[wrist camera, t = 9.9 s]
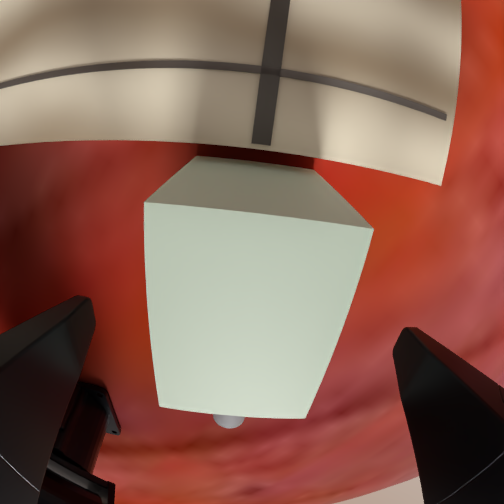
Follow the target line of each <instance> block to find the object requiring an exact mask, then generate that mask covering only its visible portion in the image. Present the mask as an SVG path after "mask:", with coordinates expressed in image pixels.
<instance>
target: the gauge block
mask: <svg viewBox="0 0 504 504" xmlns="http://www.w3.org/2000/svg"><path fill="white" fill-rule="evenodd" d="M373 230H374V229H373V228H372V227H371V226H370V224H369V223H368V222H367V221H366V220H365V219H364V218H363V217H362V216H361V215H360V214H359V213H358V212H357V211H356V210H355V209H354V208H353V207H352V206H351V205H350V204H349V203H348V202H347V201H346V200H345V199H344V198H343V197H342V196H341V195H340V194H339V193H338V192H337V191H336V190H335V189H334V188H333V187H332V186H331V185H330V184H328V183H327V182H326V181H325V180H324V179H323V178H322V177H321V176H320V175H319V174H318V173H317V172H316V171H315V170H312V169H306V168H299V167H293V166H286V165H279V164H271V163H263V162H255V161H247V160H238V159H229V158H218V157H207V156H196V157H195V158H193V159H192V160H191V161H190V162H189V163H187V164H186V165H185V166H184V167H183V168H182V169H180V170H179V171H178V172H177V173H176V174H175V175H173V176H172V177H171V178H170V179H169V180H168V181H167V182H166V183H164V184H163V185H162V186H161V187H160V188H159V189H158V190H157V191H156V192H155V193H153V194H152V195H151V196H150V197H149V198H148V199H147V200H146V201H145V202H144V246H145V273H146V291H147V305H148V318H149V329H150V339H151V348H152V357H153V365H154V373H155V380H156V387H157V394H158V400H159V406H160V407H166V408H172V409H178V410H185V411H193V412H201V413H209V414H213V417H214V420H215V421H216V423H217V424H218V425H220V426H222V427H225V428H235V427H238V426H239V425H241V424H242V423H243V421H244V418H245V417H260V418H305V417H306V415H307V413H308V411H309V409H310V406H311V404H312V402H313V400H314V398H315V395H316V393H317V391H318V388H319V386H320V384H321V381H322V379H323V377H324V374H325V372H326V369H327V367H328V364H329V362H330V359H331V357H332V354H333V352H334V349H335V347H336V344H337V341H338V339H339V336H340V333H341V331H342V328H343V325H344V322H345V320H346V317H347V314H348V311H349V308H350V305H351V303H352V300H353V297H354V294H355V291H356V287H357V284H358V281H359V278H360V275H361V272H362V269H363V265H364V262H365V259H366V255H367V252H368V248H369V245H370V241H371V238H372V234H373Z"/></svg>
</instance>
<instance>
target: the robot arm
mask: <svg viewBox="0 0 504 504" xmlns="http://www.w3.org/2000/svg"><path fill="white" fill-rule="evenodd" d="M95 326H96V321H95V316H94V310H93V305H92V301H91V299H90V298H89V297H85V296H80V295H77V296H74V297H72V298H70V299H68V300H66V301H64V302H62V303H60V304H58V305H56V306H54V307H52V308H50V309H48V310H47V311H45V312H43V313H41V314H39V315H37V316H35V317H33V318H31V319H29V320H27V321H25V322H23V323H21V324H19V325H17V326H16V327H14V328H12V329H10V330H8V331H6V332H4V333H2V334H0V504H114V498H115V484H114V483H111V482H109V481H105V480H103V479H100V478H98V477H96V476H94V475H92V474H93V470H94V467H95V464H96V461H97V457H98V454H99V451H100V448H101V445H102V442H103V439H104V436H105V433H110V434H114V435H120V432H121V429H120V426H119V424H118V421H117V419H116V416H115V413H114V410H113V408H112V405H111V402H110V399H109V396H108V393H107V391H106V390H105V389H103V388H101V387H97V386H93V385H89V384H86V383H82V382H78V379H79V376H80V374H81V371H82V368H83V365H84V362H85V358H86V355H87V352H88V349H89V345H90V342H91V339H92V336H93V333H94V330H95ZM393 359H394V364H395V369H396V375H397V380H398V386H399V391H400V397H401V401H402V405H403V408H404V412H405V416H406V420H407V424H408V428H409V432H410V436H411V440H412V444H413V449H414V453H415V458H416V462H417V467H418V472H419V477H420V482H421V487H422V493H423V499H424V504H504V388H503V387H501V386H500V385H498V384H497V383H496V382H494V381H493V380H491V379H490V378H489V377H487V376H486V375H484V374H483V373H482V372H480V371H479V370H477V369H476V368H475V367H473V366H472V365H470V364H469V363H468V362H466V361H465V360H463V359H462V358H460V357H459V356H458V355H456V354H455V353H453V352H452V351H450V350H449V349H447V348H446V347H445V346H443V345H442V344H440V343H439V342H437V341H436V340H434V339H433V338H431V337H430V336H429V335H427V334H426V333H424V332H423V331H421V330H420V329H418V328H416V327H405V328H404V329H403V330H402V331H401V333H400V336H399V338H398V340H397V342H396V344H395V346H394V348H393Z"/></svg>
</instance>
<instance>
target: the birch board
mask: <svg viewBox="0 0 504 504" xmlns="http://www.w3.org/2000/svg"><path fill="white" fill-rule="evenodd" d="M460 58H461V0H0V146H3V145H13V144H24V143H36V142H52V141H76V140H143V141H168V142H186V143H200V144H212V145H223V146H233V147H243V148H252V149H260V150H268V151H275V152H282V153H289V154H296V155H302V156H309V157H315V158H320V159H326V160H332V161H337V162H342V163H348V164H353V165H358V166H362V167H367V168H372V169H376V170H381V171H385V172H390V173H394V174H398V175H402V176H406V177H410V178H414V179H418V180H422V181H426V182H429V183H433V184H437V185H440V186H441V183H442V179H443V175H444V170H445V166H446V161H447V156H448V152H449V146H450V141H451V135H452V129H453V123H454V117H455V110H456V102H457V94H458V84H459V73H460Z"/></svg>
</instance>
